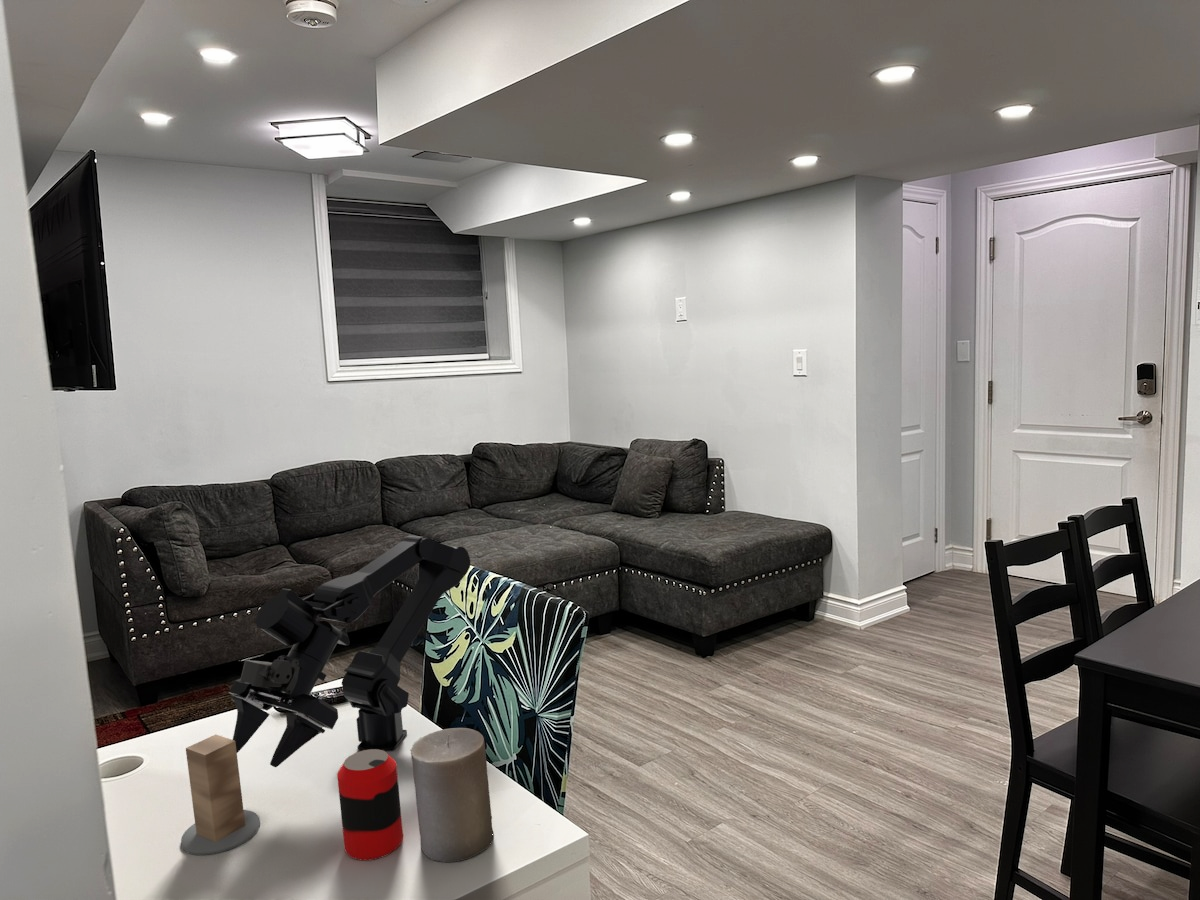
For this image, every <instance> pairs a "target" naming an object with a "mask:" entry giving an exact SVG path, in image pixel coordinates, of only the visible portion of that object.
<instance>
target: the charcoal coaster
mask: <svg viewBox="0 0 1200 900" xmlns="http://www.w3.org/2000/svg"><path fill="white" fill-rule="evenodd" d="M243 810H244V819H245V826H243V827H242V828H240V829H238V830H236V831H235V832H233V833H231V834H230V835H228V836H226V837H224V838H223V839H221V840H219V841H217V842H214V841H212V840H210V839H207V838H205V837H203V836H201V835H198V834H196V826H195V823H192V825H190V826H189V827H188V828H187V829H186V830H185V831H184V833H183V834H182V836H181V839H180V842H181V847H182V849H183V850H184V852H186V853H187V854H190V855H195V856H207V855H208V856H209V855H215V854H219V853H224V852H226V851H230V850H232V849H234V848H237V847H240V845H243V844H244V843H247V842H248V841H249V840H250V839H252V838H253V837H254V836H255V835H256V834H257V832H258V831H259V830H260V827H261V820H260V816H259V815H258V814H257V813H256V812H254V811H252V810H248V809H243Z"/></svg>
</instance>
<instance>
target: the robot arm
mask: <svg viewBox="0 0 1200 900" xmlns="http://www.w3.org/2000/svg"><path fill="white" fill-rule="evenodd" d="M416 565H418V566H417V570H418V571H417V573H418V574H417V575H418V577H417V579H418V580H417V582H416V583H415V585H414V587H413V589H412V590H411V592H410V593H409V595H407V598H406V599H405V600H404V602H403V604H402V605H401V607H400V608H399V610H398V612H397V613H396V615H395V616H394V618H393V619H392V621H391V622H390V624H389V625H388V627H387V629H386V630H385V632H384V633H383V635H382V636H381V638H380V640H379V641H378V643H377V644H376V646H375V647H374V648H373V649H371V650H370V651H368V652H367V651H363V650H359V651H357V652H356V653H355V655H354V656H353V658H352V661H351V662H350V664H349V665H347V667H345V668H344V672H345V674H344V676H343V678H342V681H341V685H342V688H341V689H342V694H343V696H344V698H345V699H346V700H348V702H349V704H350V706H351V708H354V709H355V708H356V709H358V717H357V718H356V728H357V737H358V738H357V739H358V742H359V744H358V745H357V746H356V747H357V750H358V751H364V750H370V749H378V750H383V751H393V750H396V748H398V746H399V744H400V743H401V742H402V740H403V739H404V738H405V736H406V735H407V733H408V730H407V729H404V726H403V718H402V717H403V714H402V710H403V709H405V708H407V706H408V702H409V695H410V694H409V692H408V691H406V690H404V688H402V687H400V686H399V682H400V680H401V663H402V661H403V659H404V658H405V656H406V654H407V652H408V651H409V649H410V648H411V645H412V644H413V643H414V642H415V641H414V640H415V639H416V638H417V637H418V635H419V633H420V632H421V629H422V627H423V626H424V625H425V623H426V621H427V620H428V618H429V616H430V615H431V614H432V611H434V610H433V609H434V608H435V606H436V605H437V604H438V601H440V598H441V597H442V596H443V595H444V594H445V593H446V592H448V591H450V590H451V589H453V588H454V587H456V586H457V585H459V583H460V582H462V579H464V577H465V576H466V575H467V574H468V572H469V570H470V567H471V558H470V554H469V552H468V549H466V548H465V547H463V546H461V545H459V546H458V545H451V544H449V545H448V544H444V543H441V542H437V541H435V540H433V539H430V538H429V537H426V536H418V535H410V534H409V535H407V536H405V537H402V538H401V540H400V542H398V543H397V544H396V545H394V546H393V547H391V548H390V549H388V550H386V551H385V552H384V553H383V554H381V555H379V556H378V557H376V558H375V559H373V560H372V561H371V562H369V563H367V564H366V565H364V566H363V567H362V568H360V569H359V570H358V571H355V572H353V573H350V574H345V575H343V576H339V577H336V578H333V579H330V580H328V581H327V582H324V583H322V584H320V585H319V586H318V587H317V588H316V589H315V590H314V592H313V593H312V594H310V595H308V596H305V597H304V598H301V597H299V595H298V594H297V593H296V592H295V591H293V590H292V589H289V588H281V589H280V590H279V592H278V594H277V595H275V596H272V597H271V598H269V599H268V600H267V601H265V603H264V604H262V605H261V606H260V608H259V609H258V611H257V613H256V616H255V624H256V627H257V628H258V629H260V630H262V631H264V632H265V633H266V634H267V635H269V636H271V637H272V638H274V639H276V640H278V641H279V642H280V643H282V644H283V645H285V646H289V647H290V646H292V647H291V649H290V650H289V652H288V654H287V655H285V654H281V655H279V656H278V657H277V658H276V659H275V658H274V660H273V661H272V662H270V661H260V660H252V659H251V660H250V659H245V660H244V663H243V667H242V671H241V675H240V677H239V678H238V679H235V680H234V682H233V683H232V685H231V686H230V688H229V691H228V693H229V694H230V695H232V696H231V701H233V702H234V704H235V707H236V711H237V714H236V722H235V727H234V731H233V734H232V735H233V736H232V740H234V741H235V743H236V751H237V754H238V753H239V752H240V750H242V749H243V747H245V745H246V744H247V743H248V742H249V741H250V739H251V738H253V735H254V734H256V732H257V731H258V730H259V728H260V727H261V726H262V725H263V723H264V722H265V721H266V720H267V718H269V716H270V713H269V712H267V711H269V710H270V709H272V708H273V707H276V708H278V709H282V710H286V711H285V717H286V727H285V729H284V731H283V734H281V735H282V736H281V737H280V740H279V742H278V744H277V746H276V749H275V750H274V753H273V754H272V757H271V760H270V762H269V765H270V766H272V767H274V768H277V767H278V766H280V765H282V763H283V762H285V761H286V760H287V759H288V758H290V757H291V756H292V755H293V754H294V753H296V752H297V751H298V750H299V749H300V748H302V747H303V746H304V745H305V744H307V743H308V742H310V741H311V740H312V739H314V738H315V737H317V736H318V735H319V734H324V733H325V732H326V729H328V730H329V729H330V730H333V729H334V727H335V725H336V723H337V721H338V719H339V711H338V708H337V707H334V706H333V705H331V704H329V703H328V702H326V701H325V700H323V699H321V698H320V697H317V696H314V695H311V693H312V691H313V689H314V688H315V686H316V684H317V681H320V682H324V681H325V679H326V677H327V674H326V673H324V672H323V670H324V669H325V667H326V664H327V663H328V661H329V659H330V657H331V656H332V654H333V651H334V650H335V648H336V646H337V644H339V645H343V646H349V645H350V643H351V642H350V638H349V635H348V632H347V631H348V630H347V629H348V628H347V627H346V626H339V625H336V626H334V625H333V624H332V623H330V622H329V621H334V622H340V623H345V624H351V623H353V622H356V621H357V620H358V619H359V618H360V617H361V616H362V615H363V614H364V612H365V611H367V609H368V608H370V606H371V604H372V602H373V598H374V597H375V596H376V595H377V594H378V593H379V592H380V591H381V590H383V589H384V588H386V587H387V586H389V585H390V584H391V583H392V582H394V581H395V580H397V579H398V578H399V577H401V576H402V575H403V574H405V573H406V572H408V571H409V570H410V569H412V568H413V567H415V566H416ZM317 618H320V619H324V620H317ZM328 620H329V621H328ZM264 710H265V711H264ZM289 711H290V712H289ZM324 728H326V729H324Z"/></svg>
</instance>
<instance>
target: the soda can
mask: <svg viewBox="0 0 1200 900" xmlns="http://www.w3.org/2000/svg"><path fill="white" fill-rule="evenodd" d="M397 768H398V766H397V762H396V760H395V759H394V758H393V757H392V756H390V755H389V754H388V752H386V750H378V749H370V750H359V751H357V752H355V753H352V754H351V755H349V756H348V757H347V758H346V759H345V760H344V762H343V763H342V765H341V766H340V768H339V770H338V771H337V773H336V775H337V777H336V778H337V784H338V785H337V786H338V797H339V805H340V807H339V808H340V812H341V813H340V815H341V826H342V834H343V835H342V836H343V844H344V845H343V846H344V851H345V853H346V854H347V855H348V856H349V857H350V858H353V859H354V858H356V859H355V860H358V859H361V860H360V861H370V860H369V859H373V860H376V859H375V858H377V859H380V858H379V857H381V858H383V857H386V856H388V855H390V854H391V853H393V852H394V851H396V850H397V849H398V847H399V846H400V845H401V844H402V842H403V838H404V832H403V822H402V821H403V820H402V811H401V801H400V800H401V799H400V790H399V778H398V769H397ZM392 851H393V852H392ZM389 853H390V854H389ZM387 854H388V855H387ZM385 855H386V856H385ZM382 856H383V857H382Z"/></svg>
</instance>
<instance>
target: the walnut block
mask: <svg viewBox="0 0 1200 900" xmlns="http://www.w3.org/2000/svg"><path fill="white" fill-rule="evenodd" d="M185 753H186V754H185V755H186V761H187V771H188V777H189V787H190V793H191V794H190V795H191V801H192V808H193V816H194V824H195V826H196V834H198V835H201V836H203V837H205V838H207V839H210V840H212V841H214V842H217V841H219V840H221V839H223V838H224V837H226V836H228V835H230V834H231V833H233V832H235V831H236V830H238V829H240V828H242V827H243V826H245V819H244V810H245V809H244V803H243V795H242V786H241V778H240V772H239V771H240V769H239V761H238V753H237V751H236V743H235V741H234V740H233V739H231V738H228V737H225V736H222V735H219V734H214V735H211V736H209V737H207V738H204V739H202V740H201V741H198V742H196V743H194V744H192V745H190V746H187V747H185Z"/></svg>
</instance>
